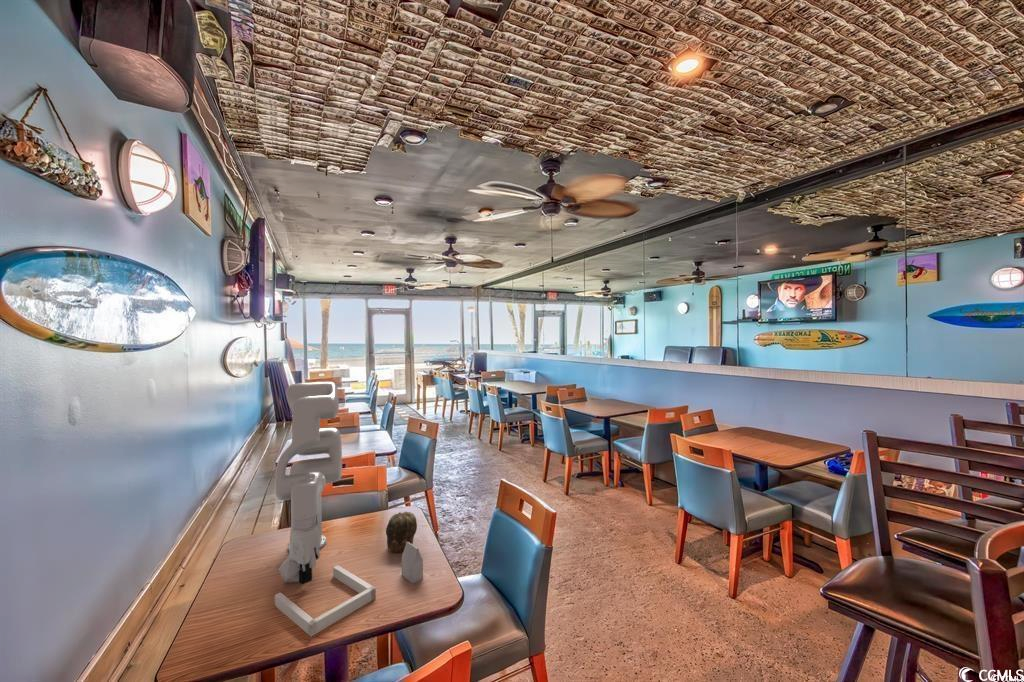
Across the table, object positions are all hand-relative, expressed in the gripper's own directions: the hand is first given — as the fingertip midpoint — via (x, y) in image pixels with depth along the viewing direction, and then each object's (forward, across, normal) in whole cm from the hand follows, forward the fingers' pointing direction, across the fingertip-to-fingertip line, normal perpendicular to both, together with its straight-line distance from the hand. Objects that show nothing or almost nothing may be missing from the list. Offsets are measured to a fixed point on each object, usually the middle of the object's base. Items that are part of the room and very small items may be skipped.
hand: (305, 581), depth 123 cm
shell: (+2, +4, +33) cm, 34 cm away
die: (+2, -7, 0) cm, 7 cm away
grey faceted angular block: (+3, +22, +23) cm, 32 cm away
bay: (+2, +11, 0) cm, 11 cm away
